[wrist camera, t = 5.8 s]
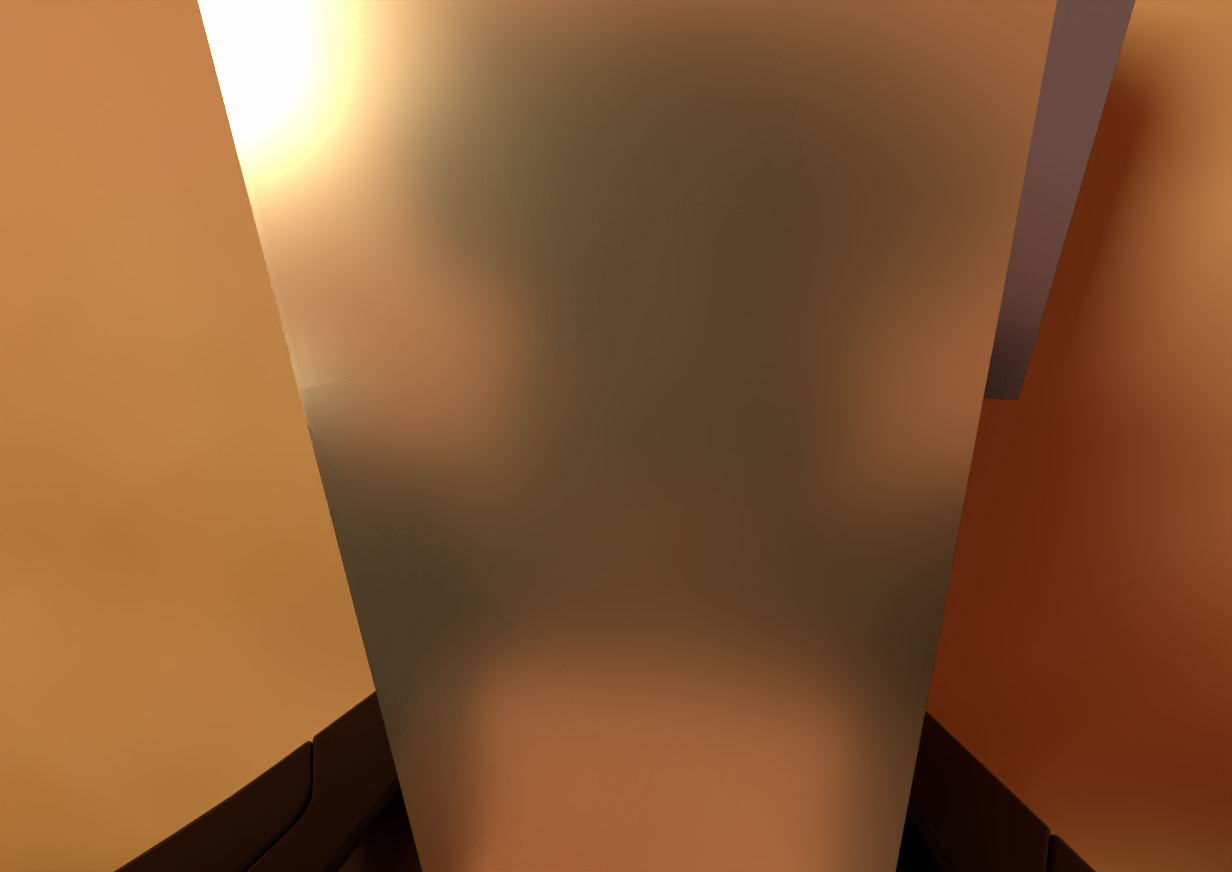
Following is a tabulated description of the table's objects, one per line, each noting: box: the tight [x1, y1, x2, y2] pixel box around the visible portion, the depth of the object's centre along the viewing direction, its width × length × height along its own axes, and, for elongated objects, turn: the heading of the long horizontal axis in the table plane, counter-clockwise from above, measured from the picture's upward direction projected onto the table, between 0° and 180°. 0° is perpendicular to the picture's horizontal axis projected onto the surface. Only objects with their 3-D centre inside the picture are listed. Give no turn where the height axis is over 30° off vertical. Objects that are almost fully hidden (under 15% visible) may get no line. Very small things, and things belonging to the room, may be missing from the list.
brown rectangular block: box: [198, 0, 1057, 872], centre depth 7 cm, size 13×4×5 cm, turn 3°
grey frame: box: [983, 0, 1135, 400], centre depth 10 cm, size 17×9×3 cm, turn 179°
